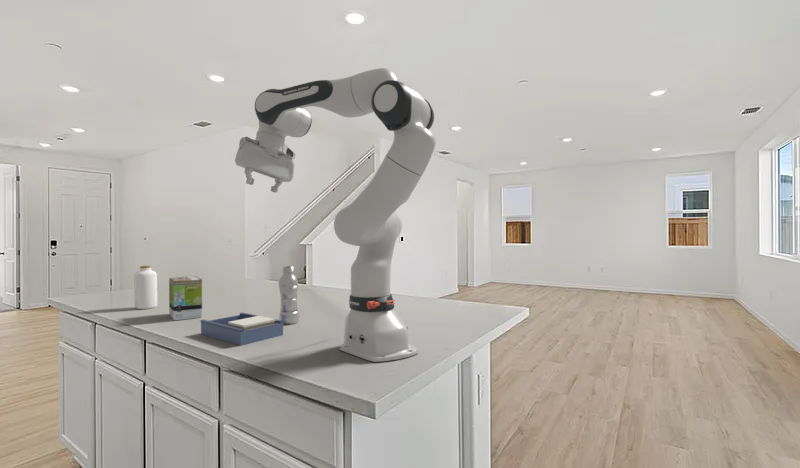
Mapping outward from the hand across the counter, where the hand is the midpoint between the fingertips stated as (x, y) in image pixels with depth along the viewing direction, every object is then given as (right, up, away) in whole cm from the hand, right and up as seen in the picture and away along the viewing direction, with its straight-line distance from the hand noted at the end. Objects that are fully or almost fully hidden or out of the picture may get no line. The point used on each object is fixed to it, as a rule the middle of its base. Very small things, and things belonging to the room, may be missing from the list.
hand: (262, 188), depth 131 cm
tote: (-5, -46, -4) cm, 47 cm away
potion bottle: (-65, -46, +47) cm, 93 cm away
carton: (0, -45, -8) cm, 46 cm away
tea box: (-39, -46, +29) cm, 67 cm away
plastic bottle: (+6, -46, +11) cm, 48 cm away
